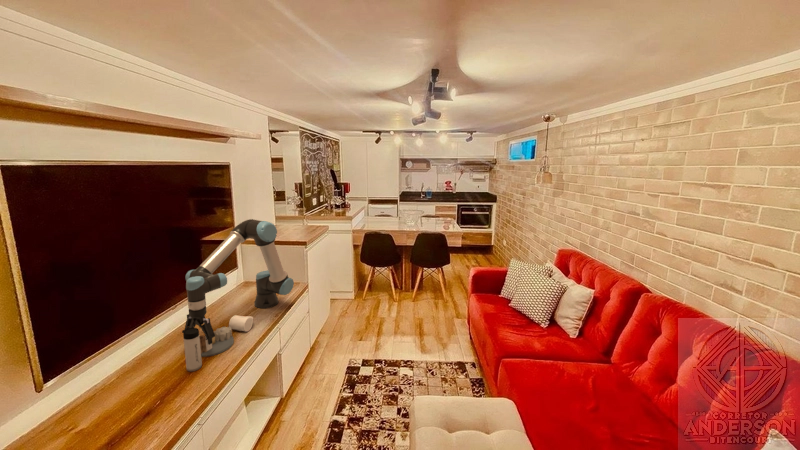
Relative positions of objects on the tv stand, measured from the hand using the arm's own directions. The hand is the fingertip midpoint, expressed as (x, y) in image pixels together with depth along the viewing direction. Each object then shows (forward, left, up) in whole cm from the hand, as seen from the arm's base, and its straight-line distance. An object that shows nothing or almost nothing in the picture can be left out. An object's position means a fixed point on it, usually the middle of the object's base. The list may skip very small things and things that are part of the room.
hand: (200, 346), depth 165 cm
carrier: (-6, 0, -3) cm, 7 cm away
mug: (-27, 0, -4) cm, 27 cm away
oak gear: (0, 0, -2) cm, 2 cm away
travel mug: (+10, +8, -4) cm, 14 cm away
